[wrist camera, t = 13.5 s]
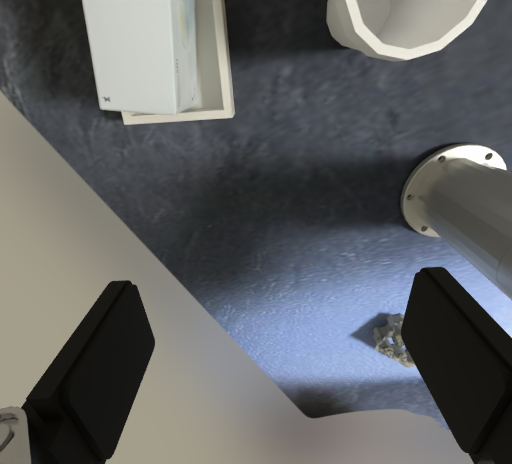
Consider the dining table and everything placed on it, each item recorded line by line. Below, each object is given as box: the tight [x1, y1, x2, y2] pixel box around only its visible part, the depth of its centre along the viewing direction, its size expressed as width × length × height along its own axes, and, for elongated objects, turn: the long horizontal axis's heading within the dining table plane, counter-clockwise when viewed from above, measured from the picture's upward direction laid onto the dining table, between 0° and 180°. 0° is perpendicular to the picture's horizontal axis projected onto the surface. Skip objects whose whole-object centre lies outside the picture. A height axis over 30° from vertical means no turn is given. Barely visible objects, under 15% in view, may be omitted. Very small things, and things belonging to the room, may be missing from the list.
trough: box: [121, 0, 235, 125], centre depth 28 cm, size 12×16×4 cm
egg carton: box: [372, 313, 415, 367], centre depth 49 cm, size 11×8×4 cm
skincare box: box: [82, 0, 197, 115], centre depth 25 cm, size 10×6×10 cm, turn 176°
